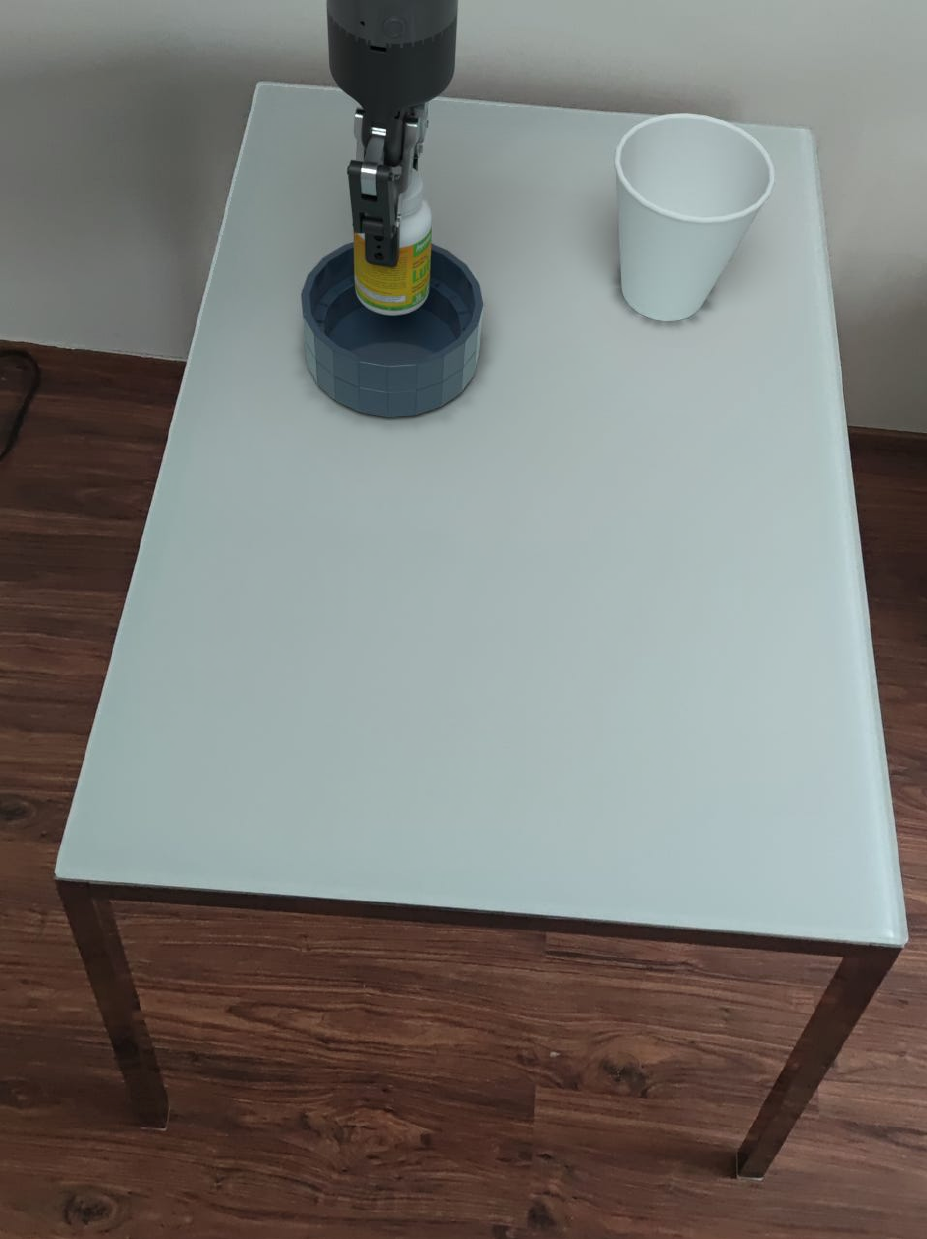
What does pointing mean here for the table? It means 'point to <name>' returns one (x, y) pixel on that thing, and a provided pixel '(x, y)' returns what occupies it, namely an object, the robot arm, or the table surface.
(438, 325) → the bowl
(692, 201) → the cup
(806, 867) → the table surface
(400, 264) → the supplement bottle
